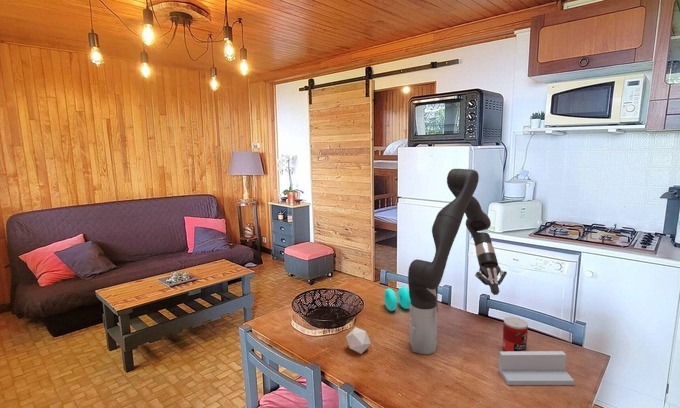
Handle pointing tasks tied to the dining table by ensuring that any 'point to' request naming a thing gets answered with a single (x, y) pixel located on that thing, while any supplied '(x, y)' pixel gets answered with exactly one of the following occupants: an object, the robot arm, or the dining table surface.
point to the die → (358, 340)
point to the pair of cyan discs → (392, 300)
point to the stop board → (534, 368)
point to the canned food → (515, 334)
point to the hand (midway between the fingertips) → (496, 294)
